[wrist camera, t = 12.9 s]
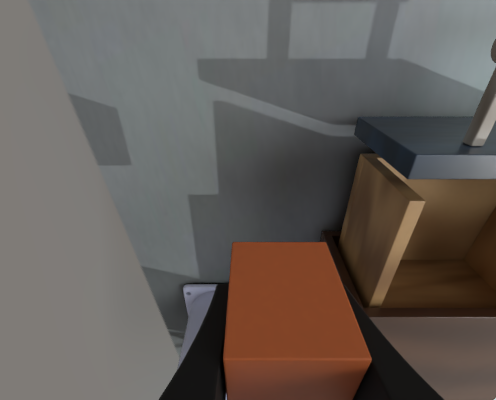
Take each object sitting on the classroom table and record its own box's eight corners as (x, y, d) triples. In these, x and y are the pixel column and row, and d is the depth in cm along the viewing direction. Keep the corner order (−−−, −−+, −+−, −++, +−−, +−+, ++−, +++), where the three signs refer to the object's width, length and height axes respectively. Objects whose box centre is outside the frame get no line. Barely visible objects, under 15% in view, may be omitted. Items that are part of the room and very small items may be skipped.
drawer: (376, 29, 14) (465, 18, 8) (605, 29, 14) (852, 18, 8) (326, 257, 23) (352, 327, 17) (466, 257, 23) (539, 328, 17)
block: (326, 241, 11) (373, 360, 7) (313, 301, 14) (343, 420, 9) (232, 241, 11) (222, 360, 7) (234, 301, 14) (228, 420, 9)
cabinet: (321, 230, 22) (356, 317, 15) (478, 230, 22) (587, 317, 15) (304, 322, 29) (322, 411, 22) (423, 322, 29) (480, 411, 22)
